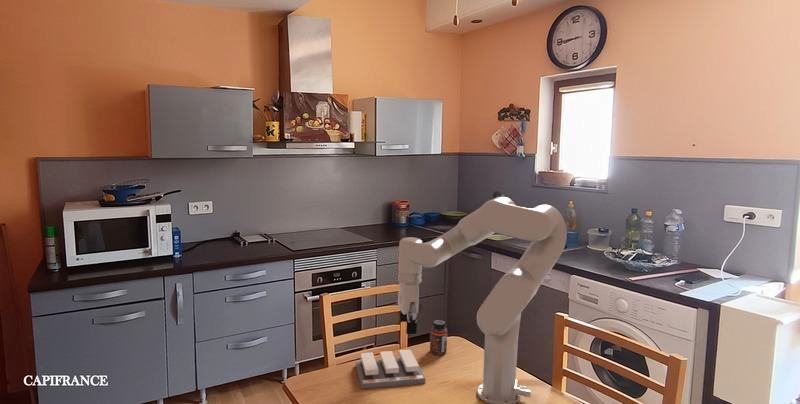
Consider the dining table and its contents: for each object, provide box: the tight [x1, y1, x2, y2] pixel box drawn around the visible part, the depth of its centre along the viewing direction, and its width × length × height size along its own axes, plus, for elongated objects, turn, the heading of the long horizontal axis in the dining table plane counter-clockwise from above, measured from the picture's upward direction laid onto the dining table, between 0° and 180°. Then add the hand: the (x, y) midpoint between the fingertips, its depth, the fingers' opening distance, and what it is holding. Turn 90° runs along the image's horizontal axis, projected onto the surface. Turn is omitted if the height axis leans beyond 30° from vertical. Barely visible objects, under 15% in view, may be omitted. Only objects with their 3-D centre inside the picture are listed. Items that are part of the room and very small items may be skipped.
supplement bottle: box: [429, 319, 448, 356], centre depth 175 cm, size 6×6×11 cm
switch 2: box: [398, 349, 420, 372], centre depth 161 cm, size 4×12×2 cm, turn 12°
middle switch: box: [379, 350, 399, 374], centre depth 160 cm, size 4×12×2 cm, turn 12°
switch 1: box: [360, 352, 378, 375], centre depth 158 cm, size 4×12×2 cm, turn 12°
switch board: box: [355, 357, 426, 390], centre depth 159 cm, size 20×15×2 cm
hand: (407, 327), depth 160 cm, fingers open, 9 cm apart
